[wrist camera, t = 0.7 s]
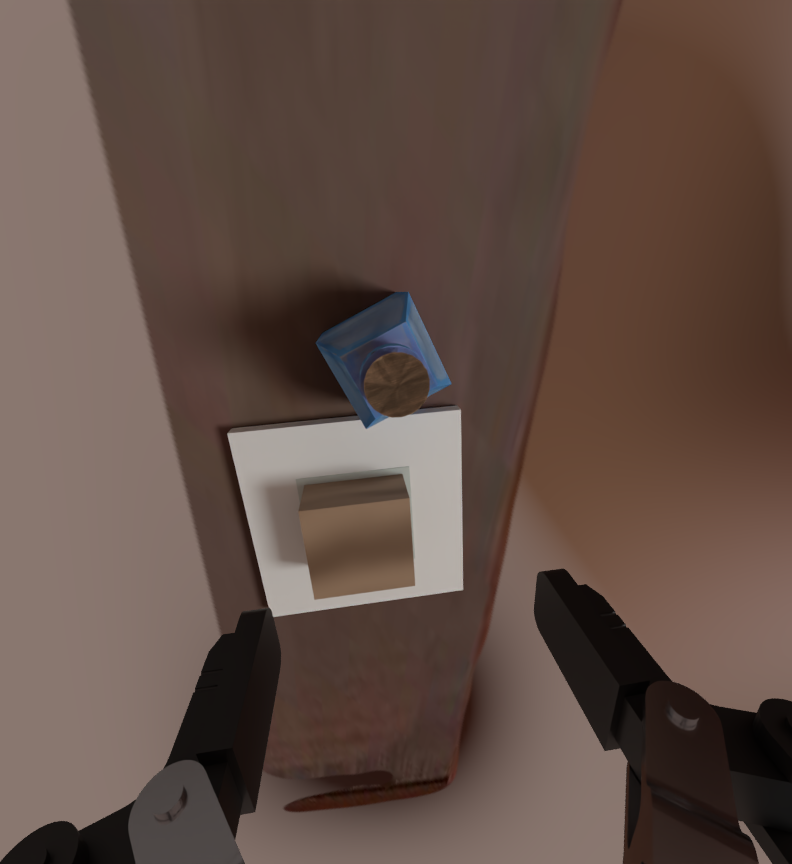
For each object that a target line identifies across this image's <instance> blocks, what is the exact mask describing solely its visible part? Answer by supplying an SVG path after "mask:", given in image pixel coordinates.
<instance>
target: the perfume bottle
mask: <svg viewBox="0 0 792 864" xmlns="http://www.w3.org/2000/svg"><path fill="white" fill-rule="evenodd" d="M316 345H317V347H318V348H319V350H320V352H321V353H322V355H323V357H324V359H325V360H326V362H327V364H328V365H329V367H330V369H331V370H332V372H333V374H334V376H335V377H336V379H337V381H338V382H339V384H340V386H341V387H342V389H343V391H344V393H345V394H346V396H347V398H348V399H349V401H350V403H351V404H352V406H353V408H354V410H355V411H356V413H357V415H358V416H359V418H360V420H361V421H362V423H363V425H364V427H365V428H366V429H368V428H369V427H371V426H373V425H375V424H377V423H379V422H381V421H383V420H385V419H386V418H388V417H392V418H394V417H404V416H407V415H410V414H412V413H414V412H415V411H416V410H418V409H419V408H420V407H421V406H422V405H423V403H424V402H425V401H426V399H427V397H428V396H430V395H432V394H434V393H436V392H437V391H439V390H441V389H443V388H445V387H447V386H449V385H451V382H450V380H449V378H448V375H447V373H446V371H445V369H444V367H443V365H442V363H441V361H440V358H439V356H438V354H437V352H436V350H435V348H434V346H433V344H432V341H431V339H430V337H429V335H428V333H427V331H426V329H425V326H424V324H423V322H422V320H421V318H420V316H419V314H418V312H417V309H416V307H415V305H414V303H413V301H412V299H411V297H410V294H409V292H395V293H394V294H392V295H390V296H388V297H386V298H385V299H383V300H381V301H379V302H377V303H376V304H374V305H372V306H370V307H368V308H367V309H365V310H363V311H361V312H359V313H357V314H356V315H354V316H352V317H350V318H348V319H347V320H345V321H343V322H341V323H339V324H338V325H336V326H334V327H332V328H330V329H328V330H327V331H325V332H323V333H322V334H321V336H320V337H319V339H318V340H317V342H316Z"/></svg>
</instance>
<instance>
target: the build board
mask: <svg viewBox="0 0 792 864" xmlns="http://www.w3.org/2000/svg"><path fill="white" fill-rule="evenodd" d="M227 435H228V439H229V443H230V448H231V452H232V456H233V460H234V464H235V469H236V473H237V477H238V481H239V485H240V490H241V494H242V498H243V502H244V506H245V510H246V515H247V519H248V523H249V527H250V531H251V536H252V540H253V544H254V548H255V552H256V556H257V561H258V565H259V569H260V573H261V577H262V582H263V586H264V590H265V594H266V598H267V603H268V607H269V608H270V609H271V611H272V614H273V617H276V616H283V615H290V614H297V613H304V612H311V611H318V610H325V609H332V608H339V607H346V606H353V605H360V604H367V603H374V602H381V601H389V600H396V599H403V598H410V597H417V596H424V595H431V594H438V593H445V592H452V591H459V590H463V544H462V464H461V409H460V408H459V407H458V406H457V405H456V406H446V407H437V408H427V409H418V410H416V411H415V412H414V413H412V414H410V415H407V416H404V417H394V418H392V417H388V418H386V419H385V420H383V421H381V422H379V423H377V424H375V425H373V426H371V427H369V428H368V429H366V428H365V427H364V425H363V423H362V421H361V420H360V418H359V416H348V417H338V418H328V419H319V420H309V421H299V422H289V423H279V424H269V425H260V426H250V427H240V428H232V429H231V430H230V431H229V432H228V433H227ZM397 474H403V477H404V481H405V484H406V488H407V491H408V495H409V498H410V513H411V528H412V543H413V558H414V573H415V586H410V587H403V588H396V589H389V590H382V591H374V592H367V593H360V594H353V595H346V596H339V597H331V598H324V599H317V600H314V595H313V590H312V584H311V579H310V573H309V568H308V562H307V557H306V551H305V546H304V541H303V535H302V530H301V524H300V519H299V513H298V510H299V506H300V502H301V497H302V493H303V489H304V485H310V484H319V483H328V482H336V481H345V480H354V479H363V478H371V477H380V476H389V475H397Z"/></svg>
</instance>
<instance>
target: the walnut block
mask: <svg viewBox="0 0 792 864" xmlns="http://www.w3.org/2000/svg"><path fill="white" fill-rule="evenodd" d="M298 513H299V519H300V524H301V530H302V535H303V541H304V546H305V551H306V557H307V562H308V568H309V573H310V579H311V584H312V590H313V595H314V600H317V599H324V598H331V597H339V596H346V595H353V594H360V593H367V592H374V591H382V590H389V589H396V588H403V587H410V586H415V573H414V558H413V543H412V528H411V513H410V498H409V495H408V491H407V488H406V484H405V481H404V477H403V474H397V475H389V476H380V477H371V478H363V479H354V480H345V481H336V482H328V483H319V484H310V485H304V489H303V493H302V497H301V502H300V506H299V510H298Z"/></svg>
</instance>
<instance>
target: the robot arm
mask: <svg viewBox="0 0 792 864" xmlns="http://www.w3.org/2000/svg"><path fill="white" fill-rule="evenodd" d="M534 615H535V620H536V623H537V627H538V629H539V631H540V633H541V635H542V637H543V639H544V640H545V642H546V644H547V646H548V648H549V650H550V652H551V653H552V655H553V657H554V659H555V661H556V663H557V664H558V666H559V668H560V670H561V672H562V674H563V675H564V677H565V679H566V681H567V682H568V685H569V686H570V688H571V690H572V692H573V694H574V695H575V697H576V699H577V701H578V703H579V705H580V706H581V708H582V710H583V712H584V714H585V716H586V717H587V719H588V721H589V723H590V725H591V727H592V728H593V730H594V732H595V734H596V736H597V737H598V739H599V741H600V743H601V745H602V746H603V748H604V750H605V751H607V750H613V749H619V748H621V750H622V752H623V753H624V755H625V757H626V759H627V760H628V762H627V768H626V796H625V797H626V799H625V825H624V853H623V864H759V862H758V857H757V853H756V850H755V847H754V844H753V842H752V840H751V839H750V837H749V836H748V835H746V834H744V833H742V831H741V829H740V826H739V823H738V820H739V821H743V822H744V823H745V824H746V826H747V827H748V829H749V830H750V832H751V833H752V835H753V836H754V837H755V839H756V840H757V842H758V843H759V845H760V846H761V848H762V849H763V851H764V852H765V853H766V855H767V856H768V858H769V859H770V861H771V862H772V864H792V702H791V701H788V700H784V699H767V700H765V701H764V702H762V704H761V705H760V707H759V709H758V712H757V713H754V712H748V711H742V710H736V709H731V708H725V707H719V706H714V705H711V704H709V703H708V702H707V701H706V700H705V699H704V698H702V697H701V696H700V695H699V694H698V693H696V692H695V691H693V690H691V689H690V688H688V687H686V686H684V685H681V684H679V683H675V682H672V681H671V679H670V678H669V677H668V676H667V675H666V674H665V672H663V670H662V669H661V667H660V666H659V665H658V664H657V663H656V661H655V660H654V659H653V658H652V656H651V655H650V654H649V653H648V651H646V649H645V648H644V647H643V645H642V644H641V643H640V642H639V640H638V639H637V638H636V637H635V635H634V634H633V633H632V632H631V630H630V629H629V628H627V627H626V624H625V623H624V622H623V621H622V619H621V618H620V617H619V616H618V615H616V613H615V611H614V609H613V608H612V607H611V606H610V605H609V603H608V602H607V601H606V600H605V598H604V597H603V596H602V595H600V594H599V593H597V592H596V591H595V590H593V589H592V588H590V587H589V586H587V585H586V584H584V585H577V583H576V582H575V581H574V580H573V578H572V577H571V575H570V574H569V573H568V572H567V571H566V570H565V569H557V570H550V571H542V572H539V573H538V575H537V582H536V593H535V604H534ZM280 666H281V649H280V643H279V639H278V635H277V631H276V627H275V622H274V618H273V614H272V611H271V609H270V608H265V609H258V610H251V611H243V612H242V613H241V615H240V618H239V621H238V624H237V627H236V630H235V633H230V634H223V635H222V636H221V637H220V639H219V640H218V641H217V642H216V644H215V645H214V646H213V647H212V649H211V650H210V651H209V653H208V656H207V658H206V661H205V663H204V666H203V669H202V671H201V676H200V677H199V679H198V682H197V685H196V688H195V693H193V695H192V698H191V701H190V703H189V706H188V709H187V712H186V714H185V716H184V719H183V722H182V724H181V727H180V730H179V733H178V735H177V738H176V740H175V743H174V746H173V748H172V751H171V754H170V756H169V759H168V761H167V763H166V765H165V767H164V769H163V770H161V771H160V772H159V773H157V775H155V776H154V777H153V778H152V779H151V780H150V781H149V782H148V783H147V785H146V786H145V787H144V788H143V790H142V791H141V793H140V794H139V796H138V797H137V799H136V800H134V801H133V802H132V803H130V804H129V805H127V806H126V807H124V808H122V809H120V810H118V811H116V812H114V813H112V814H111V815H109V816H107V817H105V818H103V819H101V820H99V821H97V822H95V823H93V824H92V825H89V826H87V827H85V828H84V829H82V830H80V831H78V830H77V829H76V827H75V826H74V825H73V824H72V823H69V822H67V821H66V822H65V821H58V822H53V823H50V824H47V825H45V826H43V827H41V828H39V829H37V830H36V831H34V832H33V833H31V834H30V835H28V836H27V837H25V838H24V839H23V840H22V841H21V842H19V843H18V844H17V845H16V846H15V847H14V848H13V849H12V850H11V851H10V852H9V853H8V854H7V855H6V856H5V857H4V858H3V860H2V861H1V862H0V864H245V863H244V860H243V858H242V856H241V853H240V851H239V849H238V846H237V844H236V842H235V837H236V833H237V827H238V823H239V818H240V815H242V814H247V813H253V812H255V810H256V804H257V799H258V793H259V787H260V781H261V776H262V770H263V764H264V759H265V753H266V747H267V742H268V736H269V730H270V724H271V719H272V713H273V707H274V702H275V696H276V690H277V684H278V679H279V673H280Z"/></svg>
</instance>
